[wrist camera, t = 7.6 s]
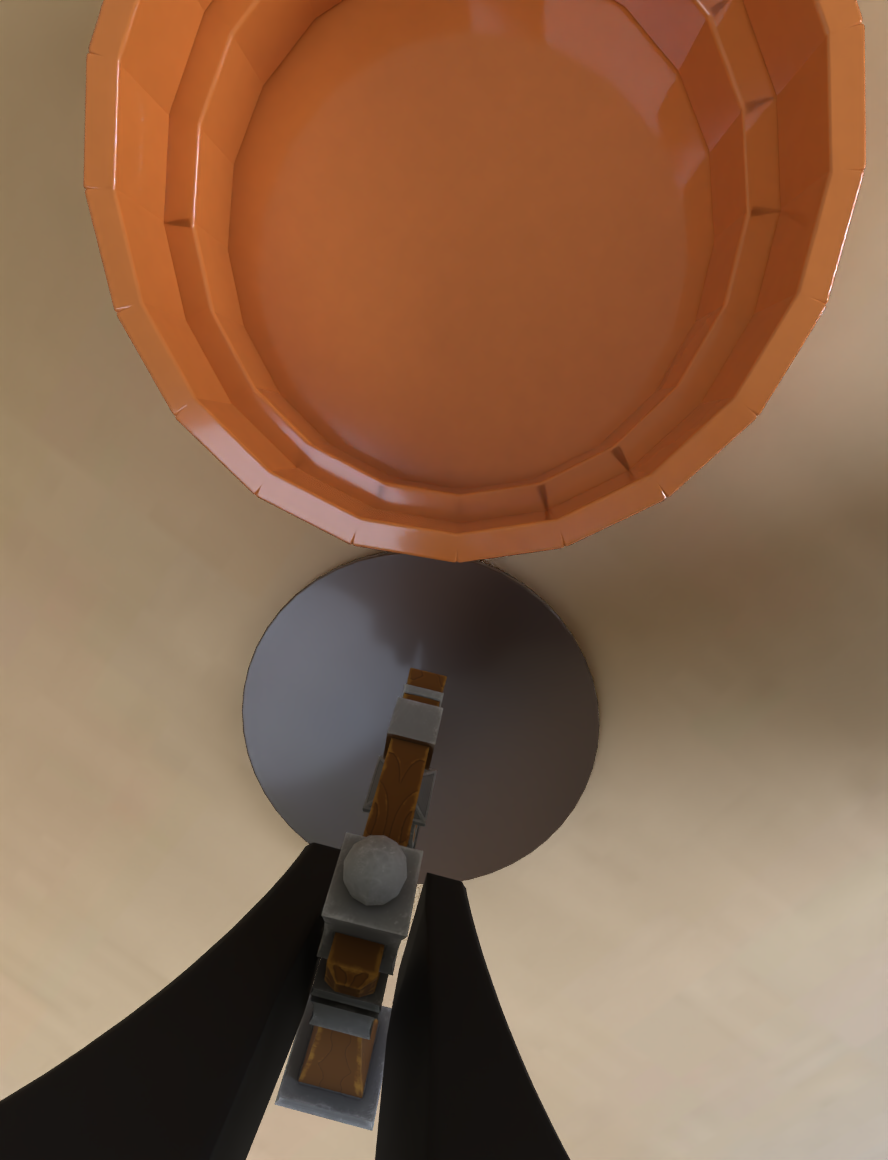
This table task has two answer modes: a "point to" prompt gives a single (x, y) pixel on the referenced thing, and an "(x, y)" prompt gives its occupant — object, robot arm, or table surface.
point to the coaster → (470, 706)
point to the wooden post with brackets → (367, 924)
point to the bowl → (471, 243)
